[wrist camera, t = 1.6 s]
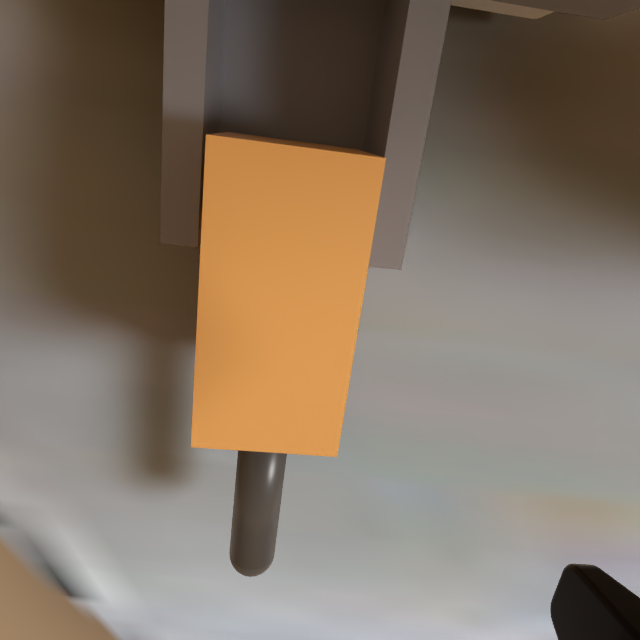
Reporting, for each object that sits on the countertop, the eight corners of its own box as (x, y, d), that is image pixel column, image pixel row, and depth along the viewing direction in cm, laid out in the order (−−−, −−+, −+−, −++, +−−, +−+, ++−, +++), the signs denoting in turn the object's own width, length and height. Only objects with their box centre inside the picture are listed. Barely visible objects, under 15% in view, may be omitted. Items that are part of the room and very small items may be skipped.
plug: (228, 131, 16) (205, 134, 11) (356, 148, 16) (386, 158, 12) (204, 517, 21) (181, 629, 16) (302, 522, 21) (307, 633, 17)
